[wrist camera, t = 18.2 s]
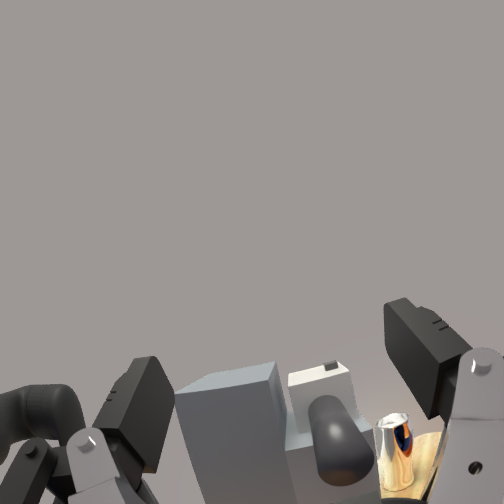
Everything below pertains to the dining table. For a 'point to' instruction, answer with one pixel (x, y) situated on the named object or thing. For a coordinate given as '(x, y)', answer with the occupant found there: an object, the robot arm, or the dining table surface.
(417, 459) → the dining table surface
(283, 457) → the stepped stand
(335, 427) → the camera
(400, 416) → the beer glass
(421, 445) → the dining table surface
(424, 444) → the dining table surface
